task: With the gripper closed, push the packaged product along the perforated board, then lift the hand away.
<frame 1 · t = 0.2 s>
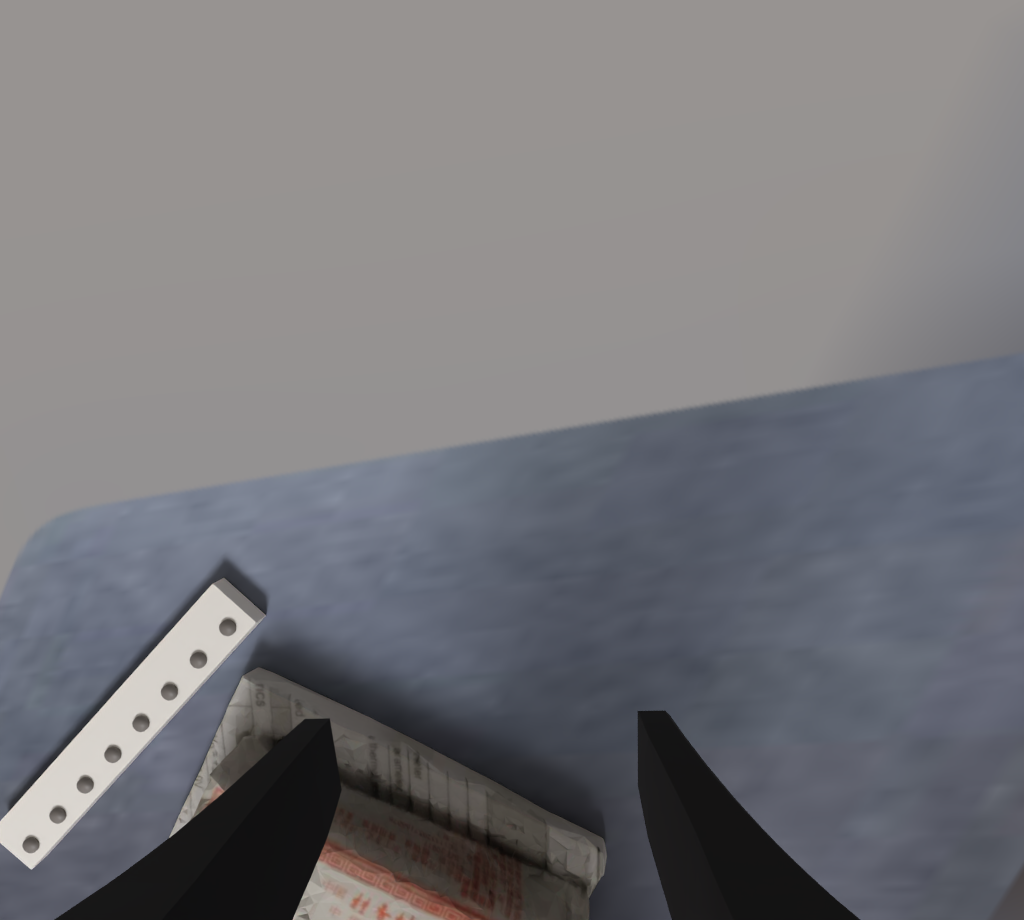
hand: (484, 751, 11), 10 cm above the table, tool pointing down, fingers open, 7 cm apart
perforated board: (133, 720, 23), on the table
packaged product: (391, 828, 23), on the table
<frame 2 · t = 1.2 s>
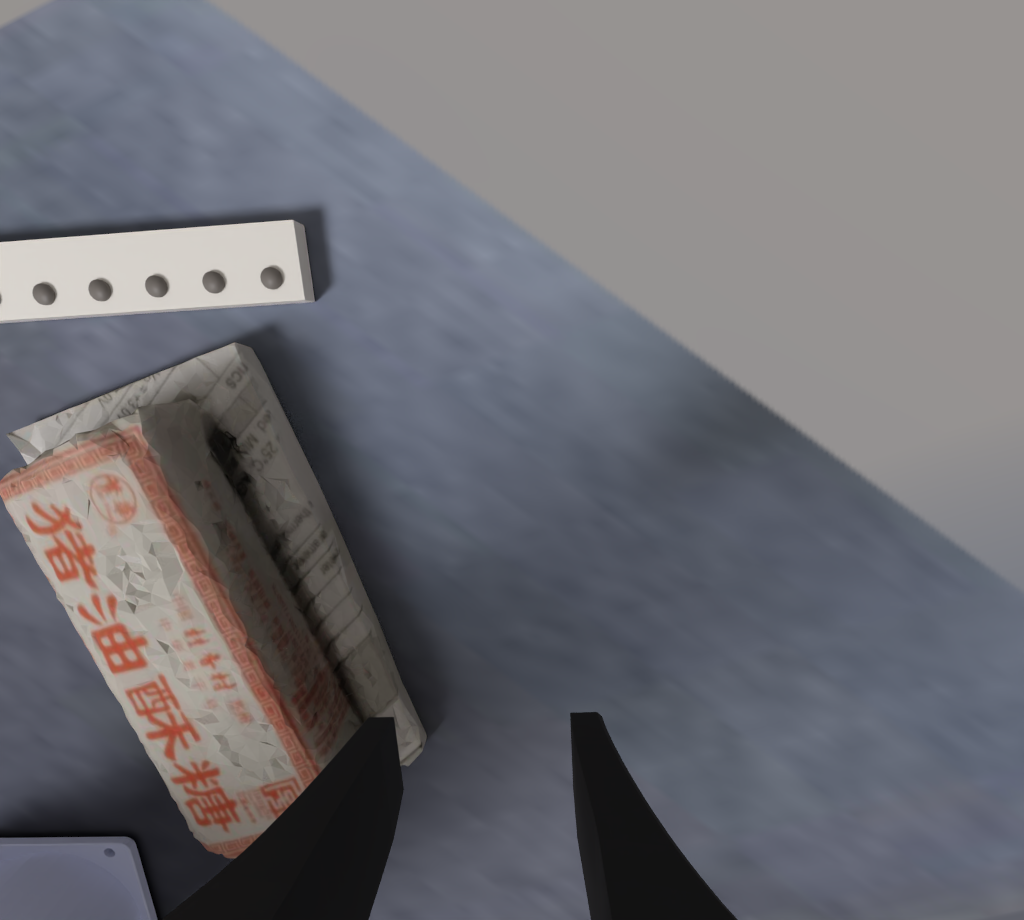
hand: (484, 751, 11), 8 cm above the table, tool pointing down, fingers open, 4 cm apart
perforated board: (89, 280, 18), on the table
packaged product: (251, 586, 21), on the table
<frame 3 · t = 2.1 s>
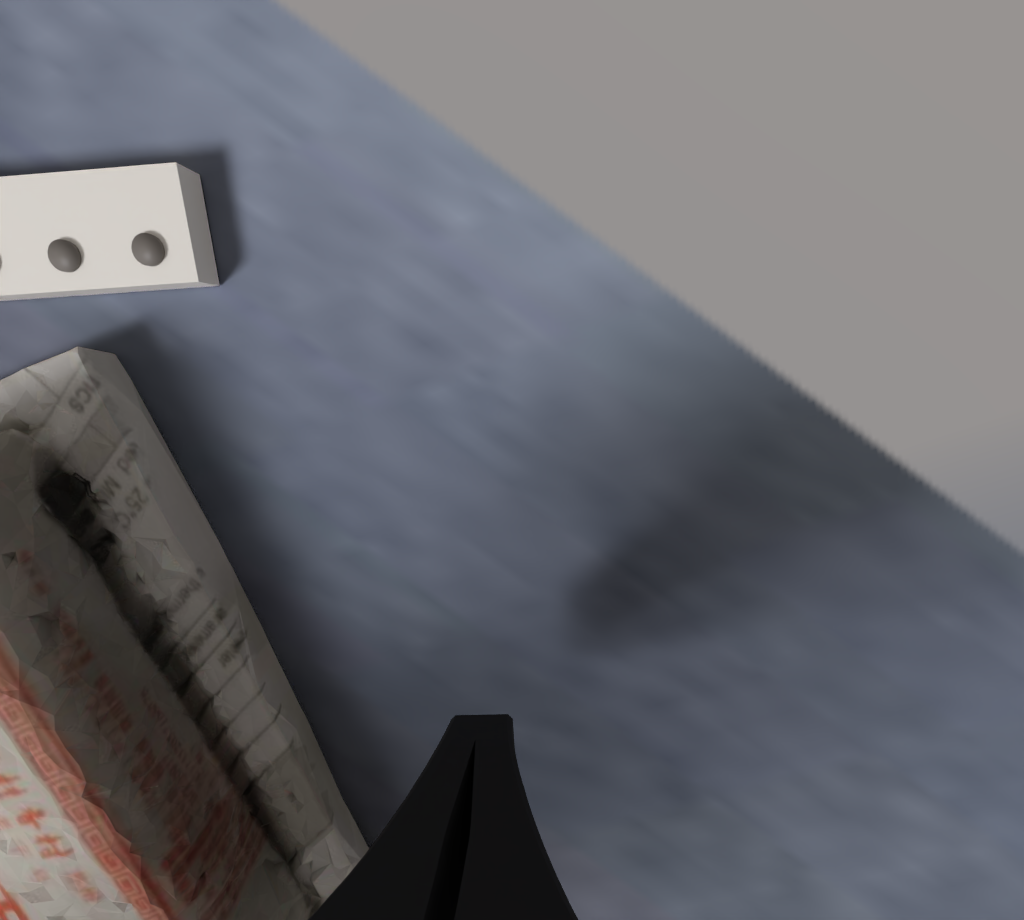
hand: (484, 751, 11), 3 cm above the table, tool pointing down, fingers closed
packaged product: (140, 671, 16), on the table
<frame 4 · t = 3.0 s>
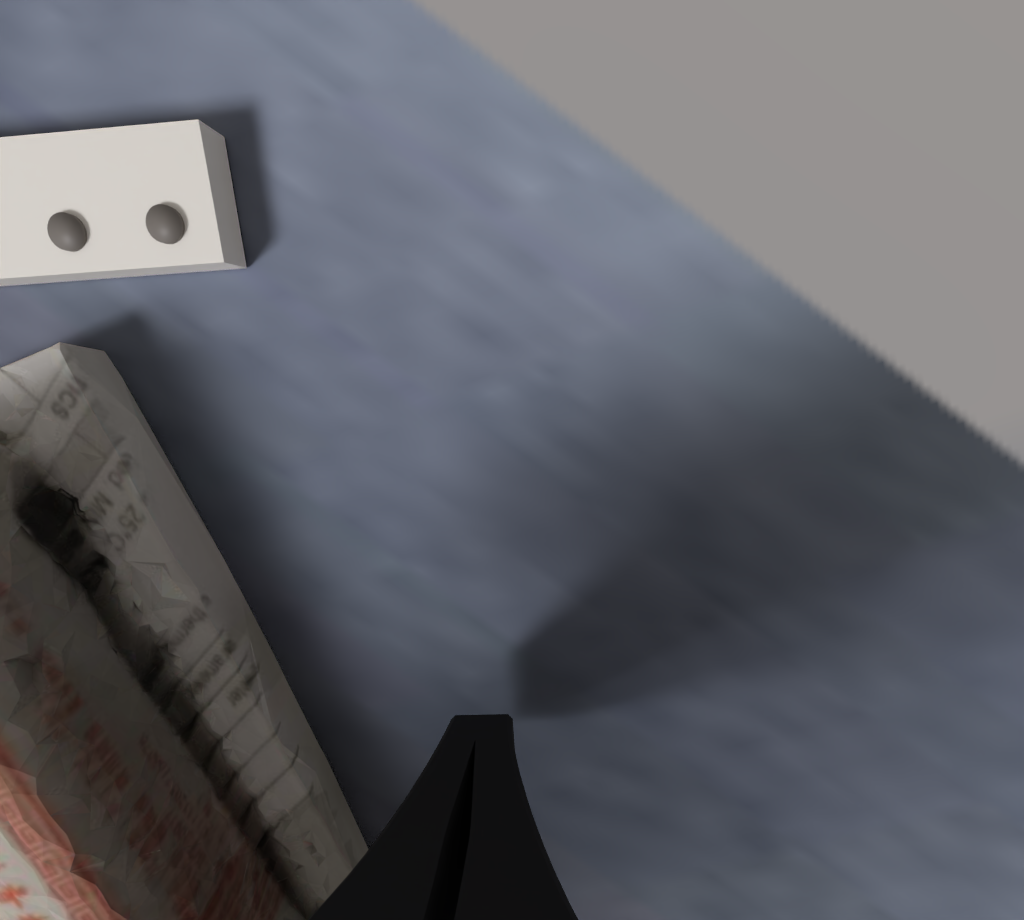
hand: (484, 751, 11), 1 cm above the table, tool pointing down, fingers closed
packaged product: (141, 706, 14), on the table
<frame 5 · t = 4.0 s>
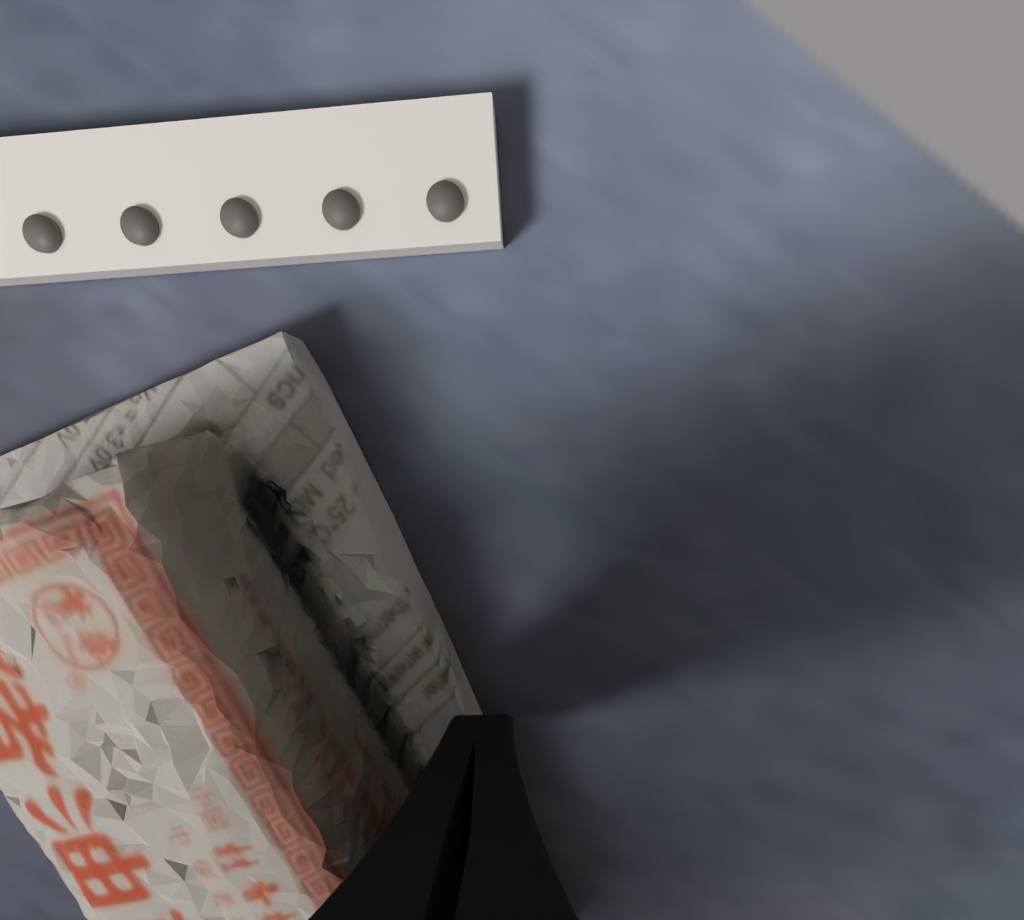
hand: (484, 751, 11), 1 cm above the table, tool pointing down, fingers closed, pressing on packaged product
perforated board: (119, 213, 10), on the table
packaged product: (305, 703, 14), on the table, touching gripper
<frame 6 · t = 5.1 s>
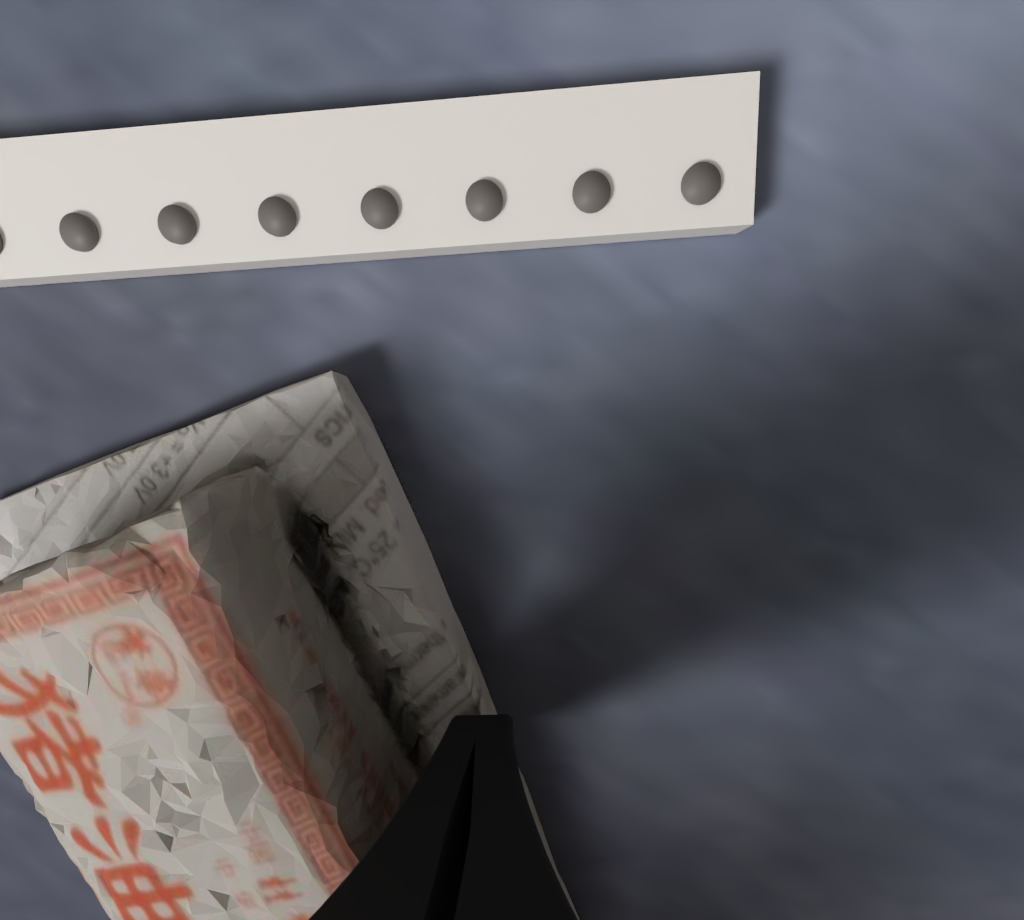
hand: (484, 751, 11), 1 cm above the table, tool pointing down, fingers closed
perforated board: (341, 197, 10), on the table
packaged product: (331, 726, 14), on the table, touching gripper
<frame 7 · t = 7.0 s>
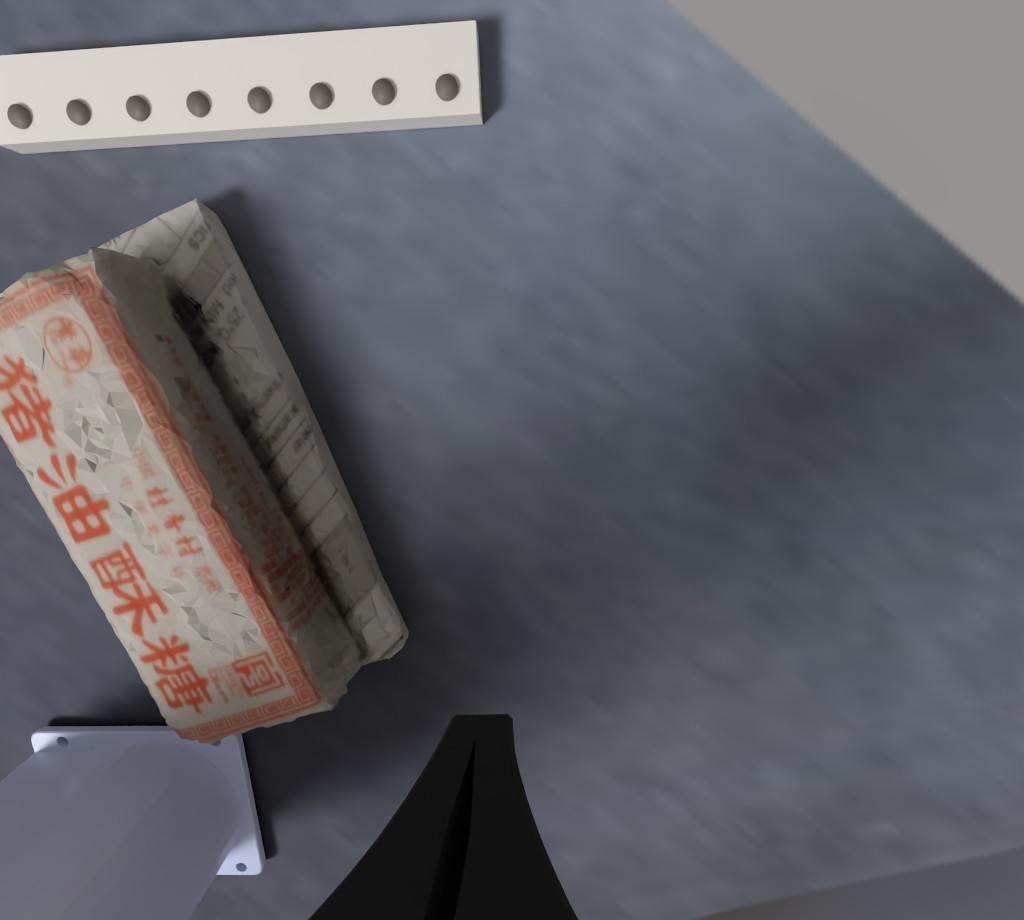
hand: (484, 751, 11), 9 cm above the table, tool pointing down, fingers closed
perforated board: (241, 97, 17), on the table
packaged product: (225, 479, 20), on the table
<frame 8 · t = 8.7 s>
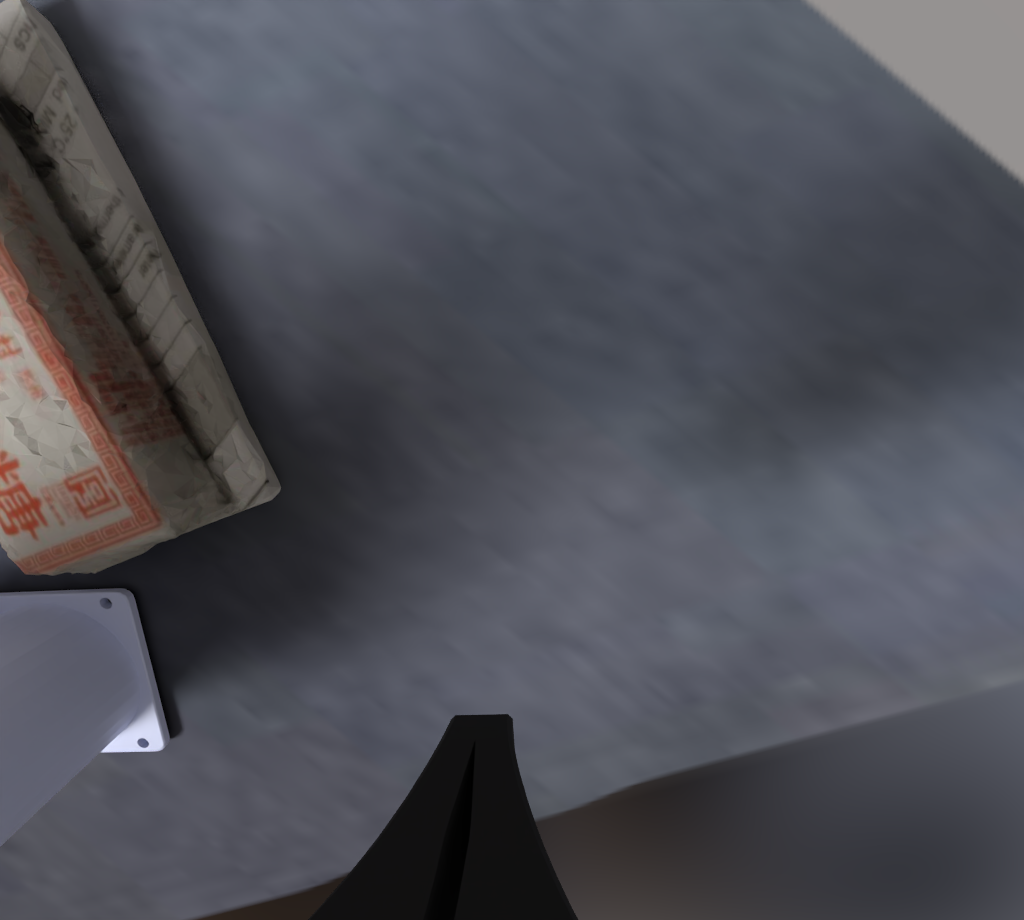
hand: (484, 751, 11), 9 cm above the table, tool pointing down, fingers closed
packaged product: (86, 325, 20), on the table
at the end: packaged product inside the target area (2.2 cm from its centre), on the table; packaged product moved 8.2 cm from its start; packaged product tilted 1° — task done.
